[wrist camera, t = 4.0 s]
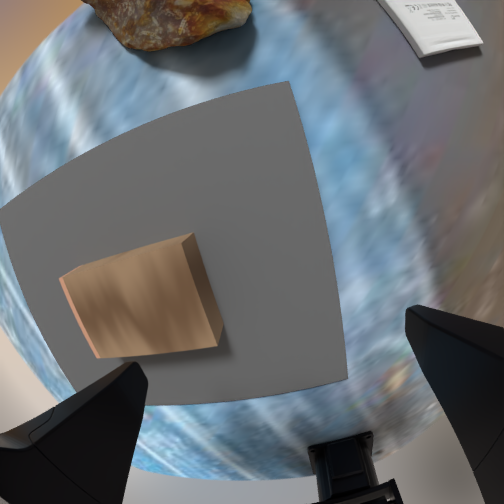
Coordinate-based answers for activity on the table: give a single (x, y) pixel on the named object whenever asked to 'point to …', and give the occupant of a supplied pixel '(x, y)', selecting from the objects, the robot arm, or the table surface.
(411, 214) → the table surface
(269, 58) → the table surface
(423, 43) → the external hard drive
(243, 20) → the decorative stone
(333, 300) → the rubber mat
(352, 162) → the table surface
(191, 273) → the walnut slab
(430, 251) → the table surface
